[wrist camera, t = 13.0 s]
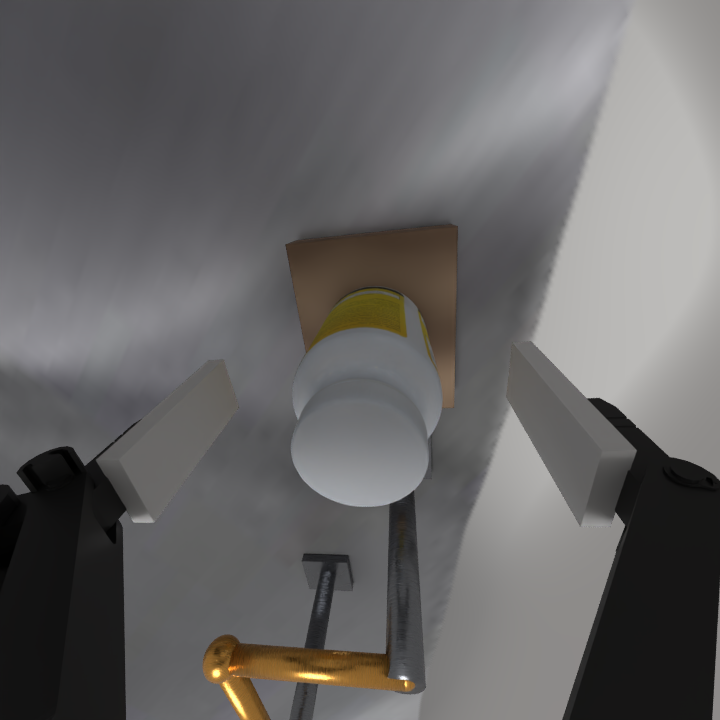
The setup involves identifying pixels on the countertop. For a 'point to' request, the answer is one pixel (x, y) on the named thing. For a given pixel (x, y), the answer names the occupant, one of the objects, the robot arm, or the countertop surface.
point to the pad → (383, 281)
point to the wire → (313, 663)
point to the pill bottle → (366, 400)
